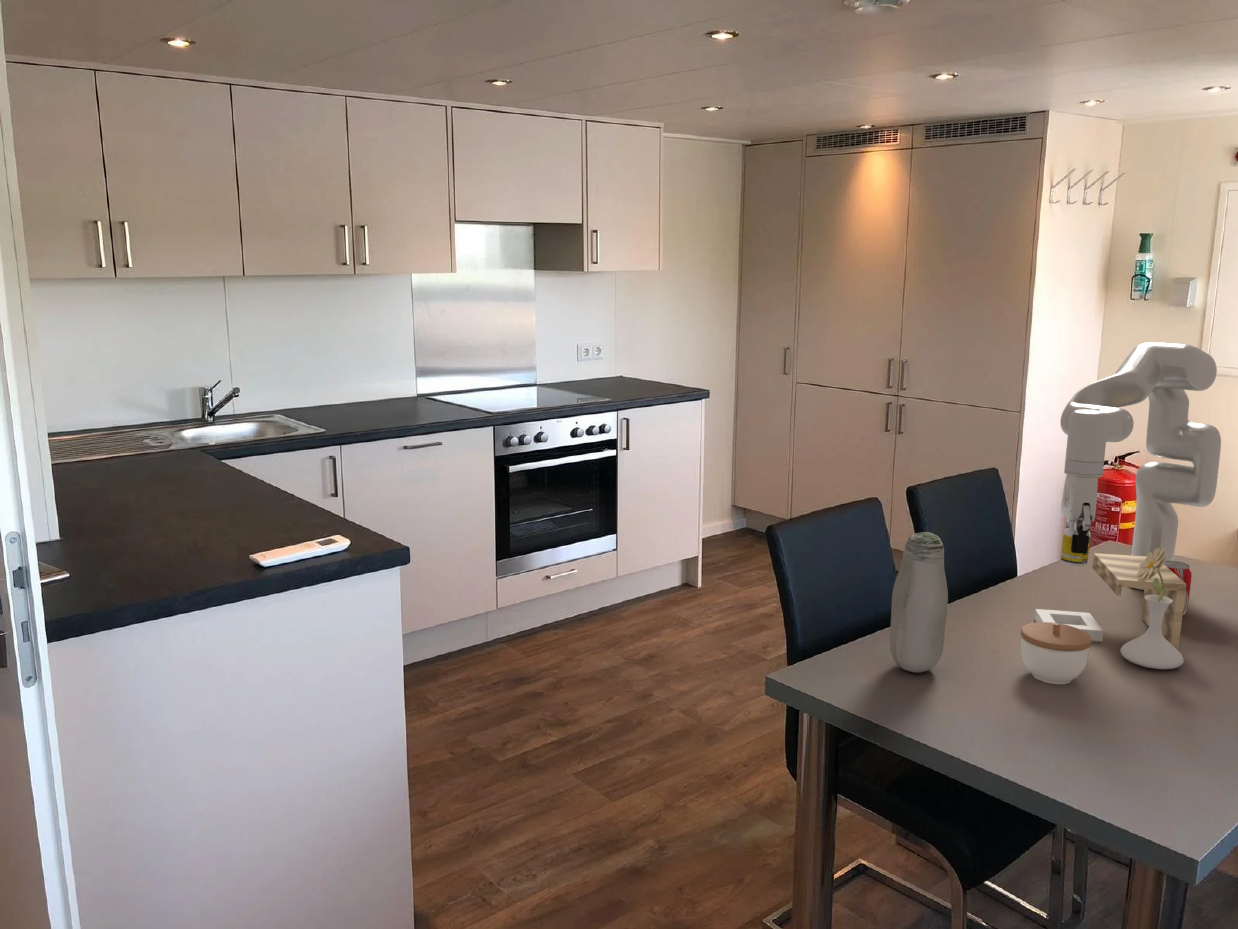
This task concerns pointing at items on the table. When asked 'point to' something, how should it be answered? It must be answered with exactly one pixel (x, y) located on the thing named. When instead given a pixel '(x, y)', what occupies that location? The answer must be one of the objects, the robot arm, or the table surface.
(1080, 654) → the lidded bowl
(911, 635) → the grey bottle
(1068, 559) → the supplement bottle
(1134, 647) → the flower in vase
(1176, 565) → the soda can
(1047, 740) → the table surface
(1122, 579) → the small wooden stool
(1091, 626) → the socket block
